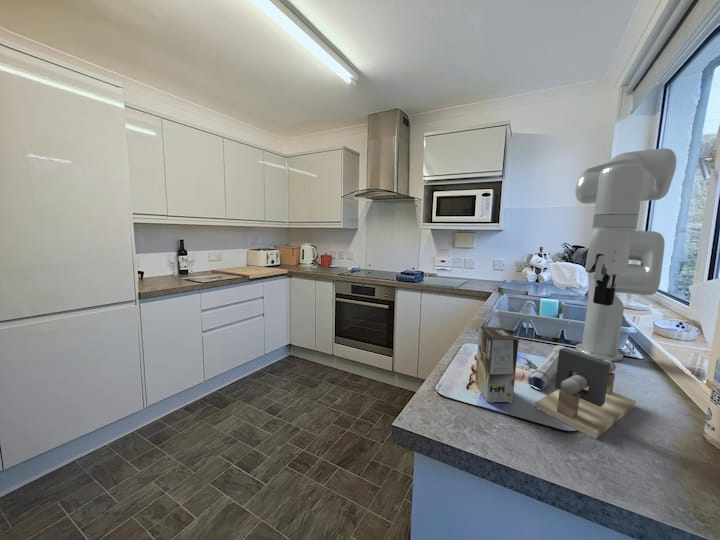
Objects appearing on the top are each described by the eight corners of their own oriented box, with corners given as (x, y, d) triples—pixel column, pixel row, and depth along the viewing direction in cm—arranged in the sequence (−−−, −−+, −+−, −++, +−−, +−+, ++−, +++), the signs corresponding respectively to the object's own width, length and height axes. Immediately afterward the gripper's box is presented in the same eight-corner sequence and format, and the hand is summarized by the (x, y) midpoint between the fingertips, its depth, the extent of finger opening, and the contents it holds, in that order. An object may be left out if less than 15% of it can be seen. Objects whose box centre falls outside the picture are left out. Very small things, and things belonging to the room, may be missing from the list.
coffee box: (513, 404, 71) (520, 340, 69) (486, 402, 71) (492, 339, 69) (497, 384, 80) (502, 327, 78) (473, 383, 80) (478, 326, 78)
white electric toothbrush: (525, 373, 79) (554, 338, 95) (524, 394, 80) (552, 357, 97) (548, 380, 75) (573, 343, 91) (546, 403, 77) (571, 363, 93)
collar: (558, 385, 71) (563, 347, 70) (604, 404, 64) (610, 362, 62) (554, 387, 70) (559, 349, 69) (600, 407, 63) (606, 364, 61)
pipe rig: (577, 383, 81) (582, 350, 80) (635, 406, 71) (641, 369, 70) (534, 407, 70) (539, 369, 68) (595, 439, 59) (602, 394, 58)
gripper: (607, 224, 72) (597, 297, 75) (579, 222, 65) (568, 304, 67) (648, 224, 66) (635, 303, 69) (622, 222, 58) (609, 312, 61)
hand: (602, 303), depth 68 cm, fingers closed
